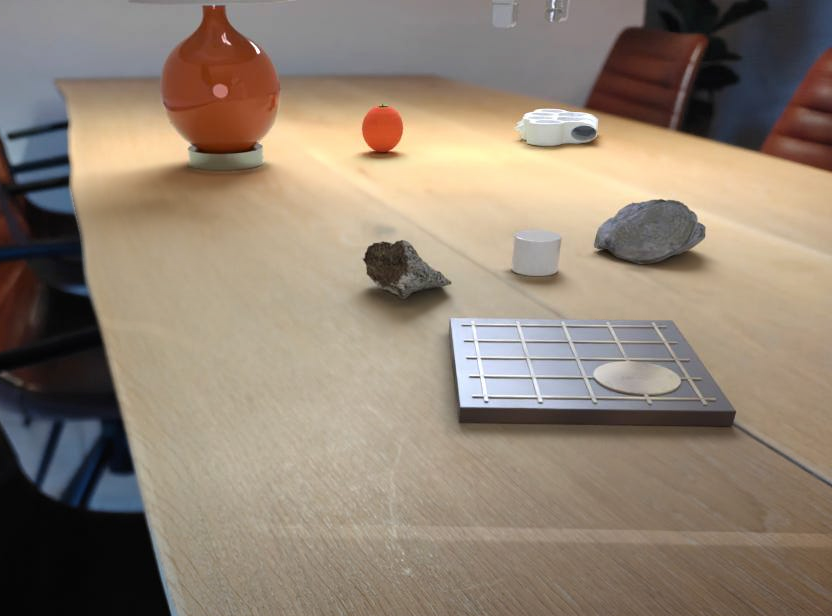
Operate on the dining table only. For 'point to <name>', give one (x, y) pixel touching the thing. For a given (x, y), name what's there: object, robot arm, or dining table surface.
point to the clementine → (382, 128)
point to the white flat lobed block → (557, 127)
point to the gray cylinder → (536, 252)
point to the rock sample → (400, 269)
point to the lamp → (219, 89)
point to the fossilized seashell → (650, 231)
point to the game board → (581, 373)
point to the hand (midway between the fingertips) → (530, 24)
